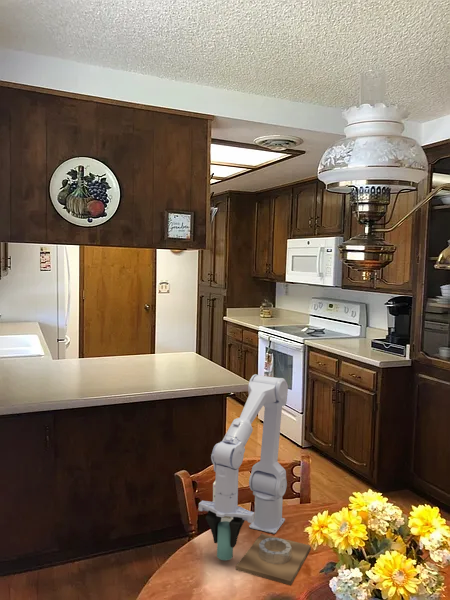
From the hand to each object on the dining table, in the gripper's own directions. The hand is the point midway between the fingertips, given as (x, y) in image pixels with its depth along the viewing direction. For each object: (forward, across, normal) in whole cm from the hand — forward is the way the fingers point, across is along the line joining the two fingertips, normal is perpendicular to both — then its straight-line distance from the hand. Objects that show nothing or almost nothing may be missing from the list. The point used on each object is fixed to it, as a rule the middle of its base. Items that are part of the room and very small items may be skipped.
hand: (225, 543), depth 130 cm
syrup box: (+5, -7, +15) cm, 17 cm away
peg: (+3, 0, 0) cm, 3 cm away
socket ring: (+5, +11, +7) cm, 14 cm away
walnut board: (+5, +11, +7) cm, 14 cm away
